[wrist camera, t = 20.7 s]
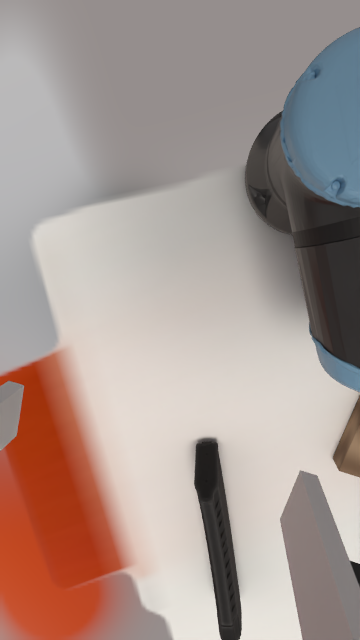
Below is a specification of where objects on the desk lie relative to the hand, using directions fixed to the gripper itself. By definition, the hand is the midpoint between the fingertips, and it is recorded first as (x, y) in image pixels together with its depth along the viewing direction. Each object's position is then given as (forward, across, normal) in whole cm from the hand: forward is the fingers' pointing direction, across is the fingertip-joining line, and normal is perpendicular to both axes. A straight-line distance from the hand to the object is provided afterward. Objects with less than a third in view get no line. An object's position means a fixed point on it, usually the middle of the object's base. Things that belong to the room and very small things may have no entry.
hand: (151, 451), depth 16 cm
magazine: (+35, +12, -34) cm, 50 cm away
